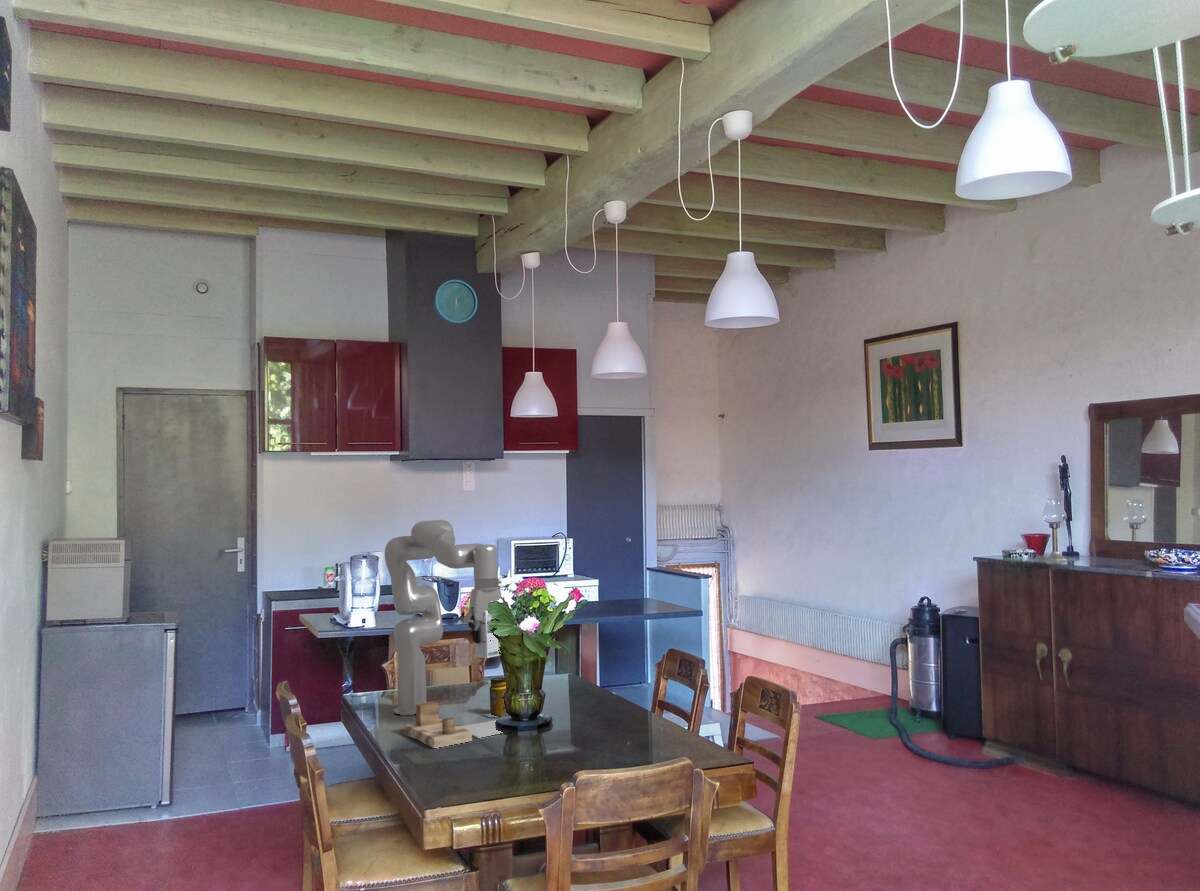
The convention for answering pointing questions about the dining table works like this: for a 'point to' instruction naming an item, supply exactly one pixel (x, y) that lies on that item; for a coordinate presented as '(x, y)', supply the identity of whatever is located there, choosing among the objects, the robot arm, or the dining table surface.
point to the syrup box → (487, 640)
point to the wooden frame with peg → (436, 727)
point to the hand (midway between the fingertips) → (487, 641)
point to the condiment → (497, 696)
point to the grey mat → (482, 729)
